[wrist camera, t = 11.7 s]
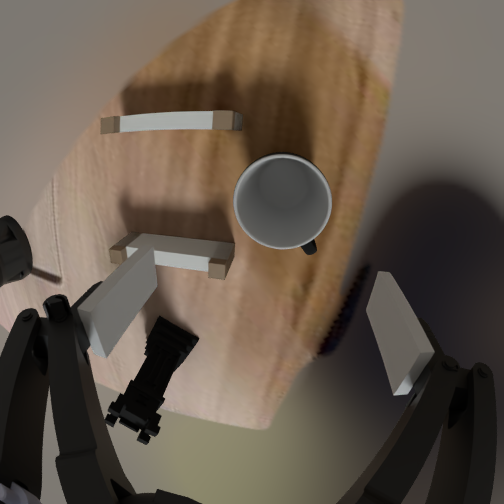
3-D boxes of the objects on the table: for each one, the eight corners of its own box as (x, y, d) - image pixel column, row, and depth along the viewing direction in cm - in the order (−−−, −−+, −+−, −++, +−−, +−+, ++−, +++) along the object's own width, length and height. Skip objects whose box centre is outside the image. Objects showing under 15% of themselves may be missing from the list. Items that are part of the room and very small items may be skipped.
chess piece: (199, 338, 46) (161, 434, 28) (183, 360, 49) (148, 446, 31) (159, 315, 45) (106, 404, 27) (147, 340, 48) (101, 421, 30)
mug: (234, 168, 33) (214, 183, 24) (299, 135, 30) (305, 136, 21) (278, 247, 37) (275, 288, 28) (340, 220, 34) (358, 253, 25)
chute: (132, 244, 39) (111, 262, 34) (128, 117, 31) (100, 118, 26) (234, 256, 38) (224, 279, 32) (242, 114, 30) (232, 110, 24)
